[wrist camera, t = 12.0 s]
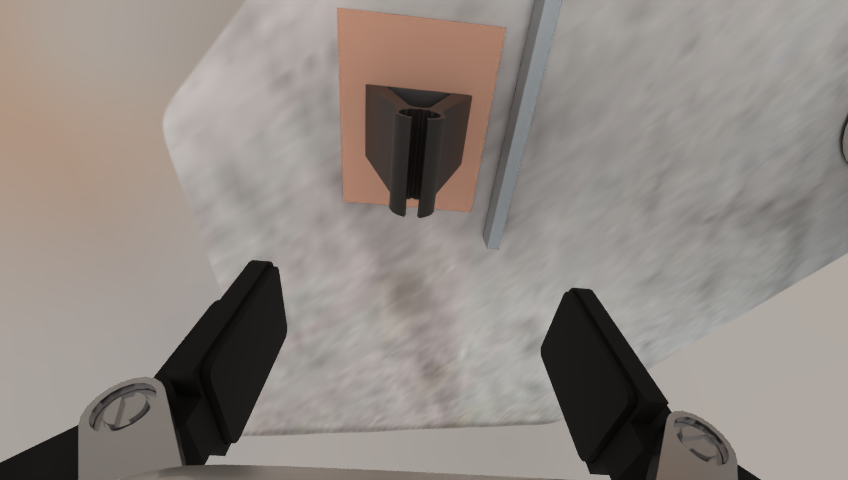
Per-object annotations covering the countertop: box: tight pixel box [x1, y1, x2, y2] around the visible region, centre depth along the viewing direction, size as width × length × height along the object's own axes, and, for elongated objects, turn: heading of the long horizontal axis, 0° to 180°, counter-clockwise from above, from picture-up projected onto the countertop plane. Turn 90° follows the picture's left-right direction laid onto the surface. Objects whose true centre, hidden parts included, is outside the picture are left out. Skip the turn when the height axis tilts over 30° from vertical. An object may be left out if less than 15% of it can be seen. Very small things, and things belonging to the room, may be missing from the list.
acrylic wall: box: [483, 0, 562, 250], centre depth 29 cm, size 1×22×2 cm, turn 174°
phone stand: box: [365, 84, 472, 218], centre depth 24 cm, size 9×6×12 cm, turn 84°
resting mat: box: [337, 8, 506, 212], centre depth 30 cm, size 13×16×1 cm
